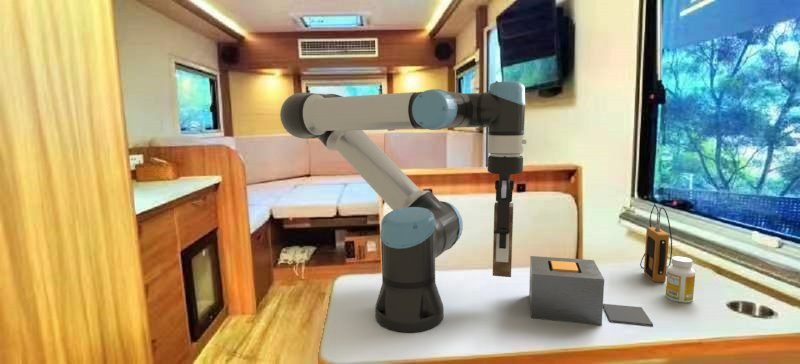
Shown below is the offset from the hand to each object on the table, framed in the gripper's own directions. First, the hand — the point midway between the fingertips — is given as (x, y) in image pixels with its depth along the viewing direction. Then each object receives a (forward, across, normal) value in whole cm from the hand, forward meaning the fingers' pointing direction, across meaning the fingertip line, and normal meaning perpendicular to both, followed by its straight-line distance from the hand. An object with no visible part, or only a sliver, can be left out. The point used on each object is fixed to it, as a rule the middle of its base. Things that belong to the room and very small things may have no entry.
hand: (502, 257), depth 93 cm
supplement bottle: (+12, +14, -40) cm, 44 cm away
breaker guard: (+12, +2, -14) cm, 18 cm away
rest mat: (+11, +2, -26) cm, 29 cm away
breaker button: (+8, +2, -13) cm, 16 cm away
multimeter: (+12, +27, -42) cm, 52 cm away
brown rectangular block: (+4, 0, 0) cm, 4 cm away
